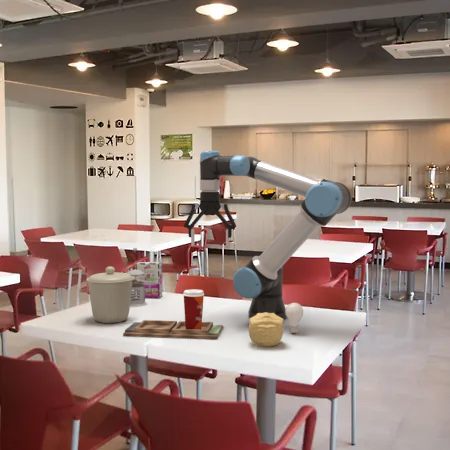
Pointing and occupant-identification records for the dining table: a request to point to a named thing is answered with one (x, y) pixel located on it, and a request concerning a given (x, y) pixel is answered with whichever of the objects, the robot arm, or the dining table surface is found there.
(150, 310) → the dining table surface
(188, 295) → the paper cup
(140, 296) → the french press
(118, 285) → the canister
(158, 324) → the wooden compartment tray
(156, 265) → the candy bar box
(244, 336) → the dining table surface
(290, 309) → the lightbulb
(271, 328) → the sculpture
